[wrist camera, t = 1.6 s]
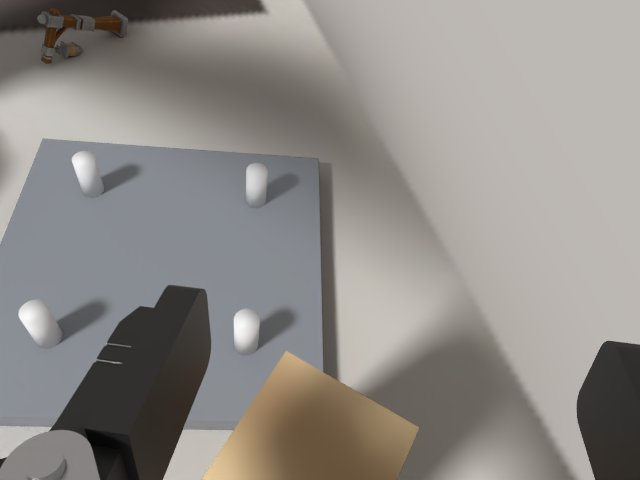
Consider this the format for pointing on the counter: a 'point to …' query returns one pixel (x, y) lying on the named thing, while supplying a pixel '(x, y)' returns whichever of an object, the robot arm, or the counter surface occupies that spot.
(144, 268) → the peg board
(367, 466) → the oak post
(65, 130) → the counter surface
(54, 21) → the orange grey jointed piece
